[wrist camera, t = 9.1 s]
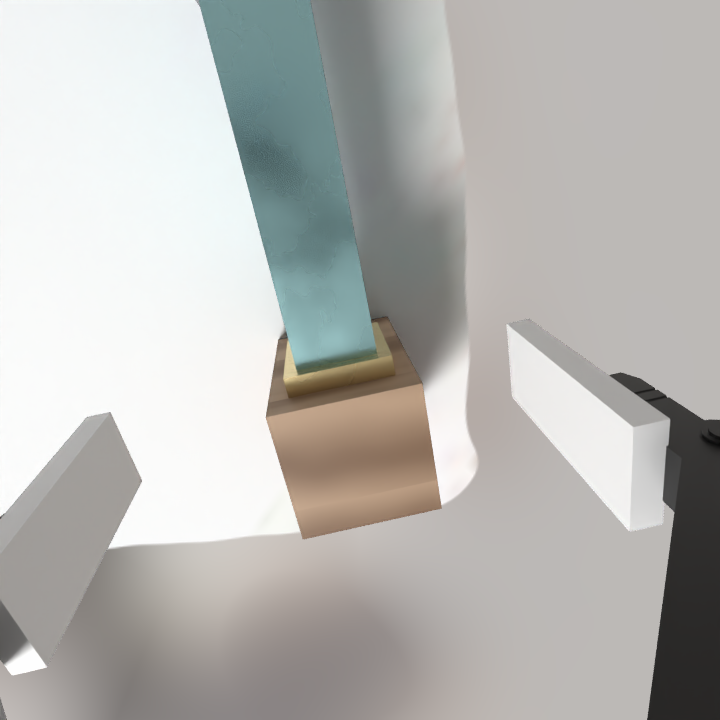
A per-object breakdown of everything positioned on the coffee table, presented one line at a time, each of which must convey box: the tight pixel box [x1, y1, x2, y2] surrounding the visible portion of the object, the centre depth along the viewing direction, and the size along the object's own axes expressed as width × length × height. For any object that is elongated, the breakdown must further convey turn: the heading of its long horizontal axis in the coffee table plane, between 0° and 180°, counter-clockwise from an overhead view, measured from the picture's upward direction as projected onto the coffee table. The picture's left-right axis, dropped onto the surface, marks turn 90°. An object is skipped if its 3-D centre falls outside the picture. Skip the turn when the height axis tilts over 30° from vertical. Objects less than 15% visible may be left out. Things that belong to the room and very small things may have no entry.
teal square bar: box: [199, 0, 395, 398], centre depth 25 cm, size 28×6×6 cm, turn 11°
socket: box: [266, 317, 441, 539], centre depth 31 cm, size 8×8×12 cm
